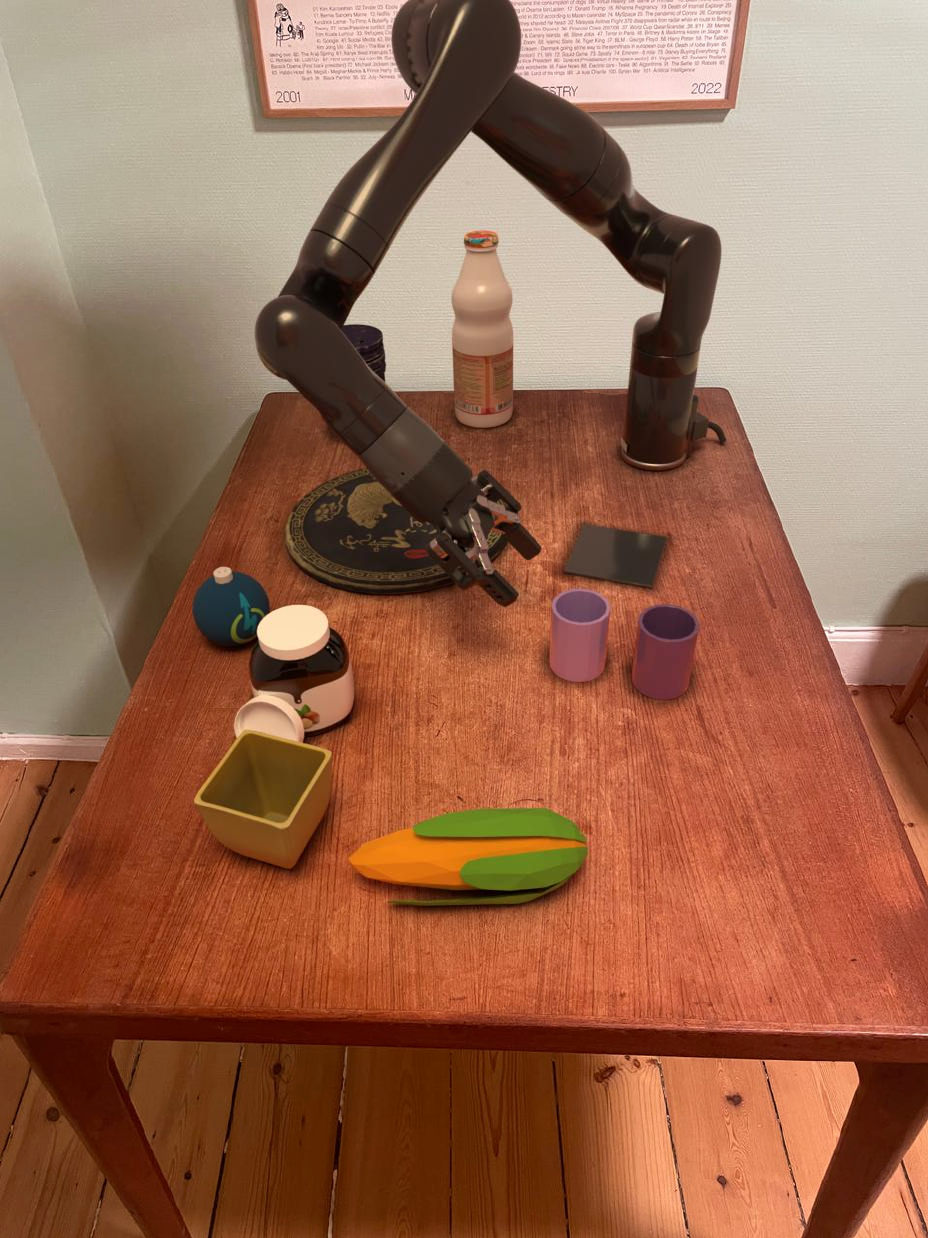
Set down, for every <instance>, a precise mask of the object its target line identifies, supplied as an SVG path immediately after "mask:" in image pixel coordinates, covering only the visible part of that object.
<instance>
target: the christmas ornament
mask: <svg viewBox="0 0 928 1238" xmlns="http://www.w3.org/2000/svg"><path fill="white" fill-rule="evenodd" d="M191 609H192V616H193V620H194V623H195V625H196V627H197V629H198V630H199V632H200V633H201V634H202V635H203V636H204V637H205V638H207V639H208V640H210V641H211V642H213V643H215V644H218V645H220V646H226V647H237V646H242V645H245V644H247V643H250V642H251V641H253V640H255V639H256V638H258V635H257V629H258V625H259V623H260V622H261V621H262V619H263V618H264V617H265V616H267V615H268V614H269V613H271V612H270V611H271V610H270V609H271V607H270V600H269V597H268V594H267V591H266V590H265V588H264V587H263V585H262V584H261V583H260V582H259V581H257V579H256V578H254V577H252V576H250V575H249V574H247V573H245V572H241V571H235V570H232V569H231V567H228V566H220V567H218V568H216V569H215V570H214V571H213V575H211V576H209V577H208V578H207V579H205V580H204V581H203V582H202V583H201V584H200V586H198V588H197V590H196V592H195V594H194V597H193V601H192V607H191Z"/></svg>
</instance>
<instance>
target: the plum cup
mask: <svg viewBox="0 0 928 1238" xmlns="http://www.w3.org/2000/svg"><path fill="white" fill-rule="evenodd" d="M699 630H700V622H699V619H698V617H697V616H696V615H695V614H694V613H693V612H691V610H689V609H688V608H684V607H682V606H680V605H676V604H670V603H662V604H661V603H660V604H654V605H650V606H648V607H646V608H645V609H643V611H642V612H640V613H639V615H638V619H637V627H636V636H635V644H634V651H633V659H632V666H631V667H632V668H631V682H632V685H633V686H634V688H635V689H636V690H637V691H638V692H639V693H640V694H642V695H644V696H646V697H648V698H651V699H655V700H659V701H660V700H661V701H667V700H668V701H669V700H674V699H677V698H679V697H681V696H682V695H684V694H685V693H686V692H687V691H688V689H689V686H690V681H691V676H692V670H693V664H694V659H695V653H696V647H697V641H698V637H699V632H700V631H699Z"/></svg>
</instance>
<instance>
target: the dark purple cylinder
mask: <svg viewBox="0 0 928 1238" xmlns="http://www.w3.org/2000/svg"><path fill="white" fill-rule="evenodd" d="M341 331H342V332H343V334H344V335H345V336H346V337H347V339H348V340H349V341H350V343H351V344H352V345H353V346H354V348H355V349H356V350H357V352H358V353H359V354H360V356H361V357H362V358H363V360H364V361H365V363H366V364H367V365H368V366H369V368H370V369H371V370H372V371H373V372H374V373H375V374H376V375H377V376H379V377H380V378H381V379H382V380H383V381H384V382H385V383H386V374H385V373H386V370H387V363H386V351H385V345H384V344H385V343H384V333H383V332H382V330H381V329H380V328H378V327H375V326H373V325H369V324H360V323H359V324H358V323H353V324H344V326H343V328H342V330H341ZM386 384H387V383H386ZM330 433H331V435H332V436H333V437H334V438H336V439H338V440H340V439H339V438H338V437H337V436H336V435H335V434H334V433H333V431H332V430H331V429H330Z"/></svg>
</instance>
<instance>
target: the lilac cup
mask: <svg viewBox="0 0 928 1238" xmlns="http://www.w3.org/2000/svg"><path fill="white" fill-rule="evenodd" d="M550 606H551V609H550V633H549V653H548V654H549V656H548V657H549V667H550V669H551V671H552V672H553V673H554V674H555V675H556V676H557V677H559V678H560V679H562V680H565V681H567V682H568V681H569V682H573V683H585V682H590V681H593V680H595V679H597V678H598V677H599V676H601V675H602V674H603V672H604V670H605V667H606V662H607V653H608V652H607V651H608V643H609V642H608V641H609V630H610V619H611V609H612V607H611V605H610V602H609V600H608V599H607V598H606V597H605V596H604V595H603V594H601V593H599V592H597V591H595V590H593V589H592V590H591V589H587V588H571V589H568V590H565V591H562V592H560V593H559V594H557V595H556V596H555V597H554V598H553V600H552V603H551V605H550Z"/></svg>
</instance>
